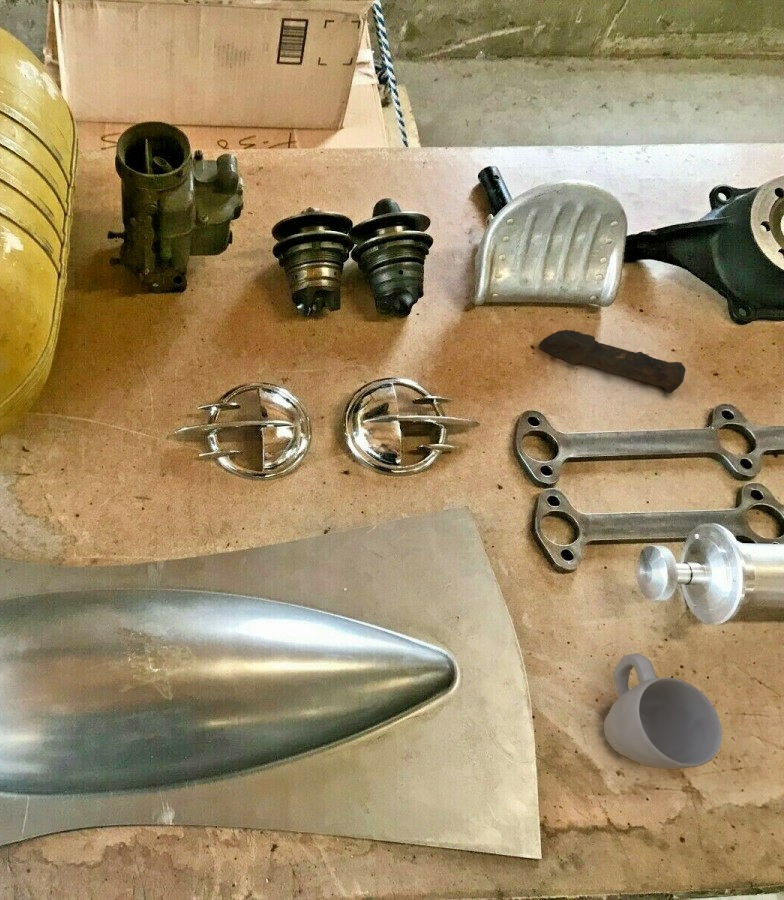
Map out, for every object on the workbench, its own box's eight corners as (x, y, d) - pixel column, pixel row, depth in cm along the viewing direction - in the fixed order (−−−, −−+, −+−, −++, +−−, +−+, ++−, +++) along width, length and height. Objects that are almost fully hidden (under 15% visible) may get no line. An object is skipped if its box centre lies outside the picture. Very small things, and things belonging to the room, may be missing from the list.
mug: (679, 767, 87) (739, 759, 79) (606, 781, 86) (659, 773, 78) (634, 659, 93) (686, 640, 84) (565, 671, 92) (611, 652, 83)
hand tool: (670, 375, 112) (691, 357, 108) (669, 397, 110) (690, 380, 106) (539, 333, 114) (554, 313, 109) (535, 354, 112) (551, 335, 108)
